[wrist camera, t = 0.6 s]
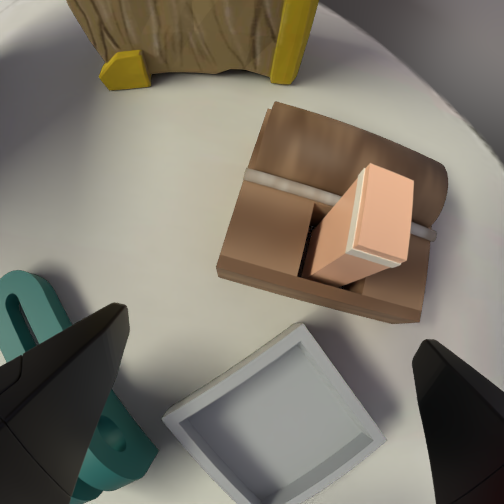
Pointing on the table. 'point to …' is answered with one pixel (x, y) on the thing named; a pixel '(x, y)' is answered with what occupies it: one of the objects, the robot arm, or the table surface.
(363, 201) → the peach block
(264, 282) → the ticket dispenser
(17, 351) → the bracket
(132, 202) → the table surface
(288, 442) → the tray
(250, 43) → the decorative book
